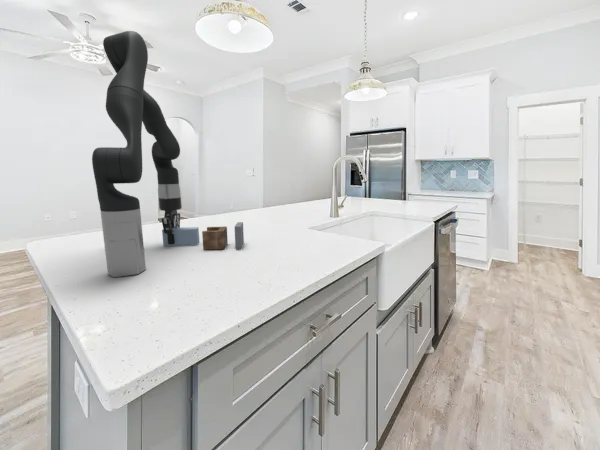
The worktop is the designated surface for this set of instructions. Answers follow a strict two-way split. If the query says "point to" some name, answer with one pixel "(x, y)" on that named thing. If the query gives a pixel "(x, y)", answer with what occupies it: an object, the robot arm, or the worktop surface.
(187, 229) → the peg
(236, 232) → the wall
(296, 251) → the worktop surface
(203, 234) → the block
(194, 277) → the worktop surface
